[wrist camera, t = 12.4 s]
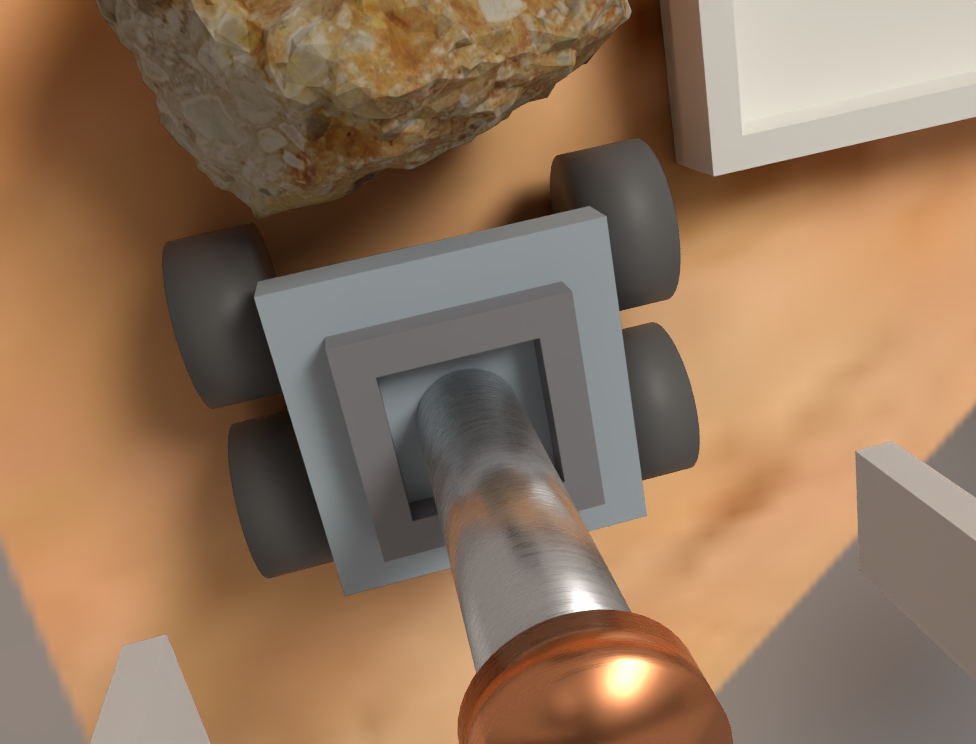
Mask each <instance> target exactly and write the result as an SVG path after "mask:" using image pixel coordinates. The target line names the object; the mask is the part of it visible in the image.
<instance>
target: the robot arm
mask: <svg viewBox="0 0 976 744" xmlns="http://www.w3.org/2000/svg"><path fill="white" fill-rule="evenodd" d="M855 452H856V482H857V512H858V541H859V570H860V571H861V572H862V573H863V574H864V575H865V576H866V577H867V578H868V579H869V580H870V581H871V582H872V583H873V584H874V585H875V586H876V587H877V588H878V589H879V590H881V591H882V592H883V593H884V594H885V595H886V596H887V597H888V598H889V599H890V600H891V601H892V602H893V603H894V604H895V605H896V606H897V607H898V608H899V609H900V610H901V611H902V612H903V613H904V614H906V616H908V617H909V618H910V619H911V620H912V621H913V622H914V623H915V624H916V625H917V626H918V627H919V628H920V629H921V630H922V631H923V632H924V633H925V634H926V635H927V636H928V637H929V638H931V640H932V641H934V642H935V643H936V644H937V645H938V646H939V647H940V648H941V649H942V650H943V651H944V652H945V653H946V654H947V655H948V656H949V657H950V658H951V659H952V660H953V661H954V662H955V663H957V665H958V666H960V667H961V668H962V669H963V670H964V671H965V672H966V673H967V674H968V675H969V676H970V677H971V678H972V679H973V680H974V681H976V498H975V497H974V496H972V495H971V494H969V493H968V492H966V491H965V490H963V489H961V488H960V487H959V486H957V485H956V484H954V483H953V482H952V481H950V480H949V479H947V478H946V477H944V476H943V475H941V474H940V473H938V472H937V471H935V470H934V469H932V468H931V467H929V466H928V465H927V464H925V463H924V462H922V461H921V460H919V459H918V458H916V457H915V456H913V455H912V454H910V453H909V452H907V451H906V450H904V449H903V448H902V447H900V446H899V445H897V444H896V443H894V442H893V441H891V442H888V443H884V444H880V445H876V446H873V447H869V448H865V449H861V450H858V451H855ZM90 744H211V743H210V741H209V738H208V736H207V733H206V731H205V728H204V726H203V724H202V721H201V719H200V716H199V714H198V711H197V709H196V706H195V704H194V701H193V699H192V696H191V694H190V691H189V689H188V686H187V684H186V681H185V679H184V676H183V674H182V671H181V669H180V666H179V664H178V662H177V659H176V657H175V654H174V652H173V649H172V647H171V644H170V642H169V639H168V637H167V634H165V635H162V636H158V637H154V638H150V639H147V640H143V641H139V642H135V643H132V644H128V645H124V646H122V649H121V652H120V655H119V658H118V661H117V664H116V667H115V670H114V673H113V676H112V679H111V682H110V685H109V688H108V691H107V694H106V697H105V700H104V703H103V706H102V709H101V712H100V715H99V718H98V721H97V724H96V727H95V730H94V733H93V736H92V739H91V742H90Z"/></svg>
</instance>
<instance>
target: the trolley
mask: <svg viewBox="0 0 976 744" xmlns="http://www.w3.org/2000/svg"><path fill="white" fill-rule="evenodd" d="M550 195H551V207H552V215H548V216H544V217H539V218H535V219H530V220H526V221H522V222H517V223H513V224H509V225H504V226H500V227H495V228H491V229H487V230H482V231H478V232H473V233H469V234H465V235H460V236H456V237H452V238H447V239H443V240H438V241H434V242H430V243H425V244H421V245H416V246H412V247H408V248H403V249H399V250H395V251H390V252H386V253H381V254H377V255H373V256H368V257H364V258H359V259H355V260H351V261H346V262H342V263H338V264H333V265H329V266H324V267H320V268H316V269H311V270H307V271H302V272H298V273H294V274H289V275H285V276H281V277H276V274H275V271H274V268H273V265H272V262H271V259H270V256H269V253H268V251H267V248H266V245H265V243H264V241H263V238H262V236H261V234H260V232H259V230H258V228H257V227H256V225H255V224H254V223H249V224H245V225H240V226H236V227H231V228H227V229H222V230H218V231H213V232H209V233H204V234H200V235H195V236H191V237H186V238H182V239H177V240H172V241H168V242H167V243H166V244H165V246H164V249H163V257H162V267H163V279H164V287H165V294H166V299H167V304H168V309H169V313H170V318H171V322H172V325H173V329H174V333H175V336H176V340H177V343H178V346H179V349H180V352H181V355H182V358H183V360H184V363H185V366H186V368H187V371H188V373H189V376H190V378H191V380H192V382H193V384H194V386H195V388H196V390H197V392H198V393H199V395H200V397H201V398H202V400H203V401H204V402H205V403H206V404H207V406H209V407H210V408H212V409H215V408H219V407H223V406H228V405H232V404H236V403H240V402H244V401H248V400H252V399H257V398H261V397H265V396H269V395H273V394H277V393H281V392H283V395H284V398H285V401H286V405H287V408H288V411H285V412H281V413H277V414H273V415H269V416H265V417H261V418H256V419H252V420H248V421H244V422H240V423H236V424H233V425H232V426H231V427H230V430H229V435H228V458H229V468H230V476H231V482H232V488H233V493H234V498H235V503H236V507H237V511H238V515H239V519H240V523H241V526H242V530H243V533H244V536H245V539H246V542H247V545H248V548H249V550H250V553H251V555H252V557H253V560H254V562H255V564H256V566H257V567H258V569H259V571H260V572H261V574H262V575H263V576H264V577H266V578H272V577H276V576H279V575H283V574H287V573H291V572H295V571H298V570H302V569H306V568H310V567H314V566H318V565H321V564H325V563H329V562H333V561H334V562H335V566H336V569H337V572H338V575H339V579H340V582H341V585H342V588H343V592H344V595H345V596H348V595H351V594H355V593H359V592H363V591H366V590H370V589H374V588H378V587H381V586H385V585H389V584H393V583H396V582H400V581H404V580H408V579H411V578H415V577H419V576H423V575H427V574H430V573H434V572H438V571H442V570H445V569H449V568H451V566H450V562H449V558H448V553H447V549H446V545H445V541H444V537H443V533H442V529H441V524H440V520H439V516H438V512H437V508H436V504H435V499H434V495H433V491H432V487H431V483H430V479H429V475H428V470H427V466H426V462H425V458H424V454H423V450H422V445H421V441H420V437H419V433H418V429H417V410H418V406H419V403H420V401H421V399H422V397H423V395H424V393H425V392H426V391H427V389H428V388H429V387H430V386H431V385H432V384H433V383H434V382H435V381H436V380H438V379H439V378H441V377H442V376H444V375H446V374H448V373H450V372H453V371H456V370H460V369H466V368H476V369H483V370H487V371H490V372H493V373H495V374H497V375H499V376H500V377H501V378H503V379H504V380H505V381H506V382H507V383H508V384H509V385H510V386H511V387H512V389H513V390H514V392H515V394H516V396H517V398H518V400H519V401H520V403H521V405H522V407H523V409H524V411H525V413H526V415H527V417H528V418H529V420H530V422H531V424H532V426H533V428H534V430H535V432H536V433H537V435H538V437H539V439H540V441H541V443H542V445H543V447H544V449H545V450H546V452H547V454H548V456H549V458H550V460H551V462H552V464H553V466H554V467H555V469H556V471H557V473H558V475H559V477H560V479H561V481H562V483H563V484H564V486H565V488H566V490H567V492H568V494H569V496H570V498H571V499H572V501H573V503H574V505H575V507H576V509H577V511H578V513H579V515H580V516H581V518H582V520H583V522H584V524H585V526H586V528H587V530H588V531H592V530H596V529H599V528H603V527H607V526H611V525H614V524H618V523H622V522H626V521H629V520H633V519H637V518H641V517H644V516H647V513H646V505H645V498H644V491H643V483H642V480H646V479H650V478H654V477H657V476H661V475H665V474H669V473H673V472H677V471H680V470H684V469H688V468H691V467H693V466H694V465H695V463H696V461H697V458H698V454H699V445H700V435H699V423H698V416H697V410H696V405H695V400H694V396H693V392H692V388H691V384H690V381H689V378H688V375H687V372H686V369H685V366H684V364H683V361H682V359H681V357H680V354H679V352H678V350H677V348H676V346H675V344H674V343H673V341H672V339H671V338H670V336H669V335H668V333H667V332H666V331H665V330H664V329H663V328H662V327H661V326H660V325H659V324H657V323H655V322H651V323H647V324H642V325H638V326H634V327H630V328H626V329H622V328H621V320H620V313H619V311H621V310H626V309H630V308H634V307H638V306H642V305H646V304H650V303H655V302H659V301H663V300H667V299H669V298H671V297H672V296H673V294H674V292H675V290H676V288H677V285H678V280H679V274H680V239H679V230H678V224H677V218H676V212H675V208H674V203H673V200H672V196H671V192H670V189H669V186H668V183H667V180H666V177H665V175H664V172H663V170H662V167H661V165H660V163H659V161H658V159H657V157H656V156H655V154H654V152H653V151H652V149H651V148H650V147H649V146H648V145H647V143H645V142H644V141H643V140H641V139H639V138H633V139H629V140H624V141H620V142H615V143H611V144H606V145H602V146H597V147H593V148H588V149H584V150H579V151H575V152H570V153H566V154H561V155H557V156H556V157H555V158H554V160H553V162H552V166H551V174H550Z"/></svg>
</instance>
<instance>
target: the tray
mask: <svg viewBox="0 0 976 744" xmlns="http://www.w3.org/2000/svg"><path fill="white" fill-rule="evenodd" d="M659 1H660V10H661V20H662V30H663V40H664V50H665V60H666V70H667V79H668V89H669V99H670V109H671V119H672V129H673V139H674V148H675V158H676V164H679V165H682V166H685V167H687V168H690V169H693V170H696V171H699V172H702V173H705V174H708V175H711V176H718V175H723V174H727V173H731V172H736V171H740V170H745V169H749V168H753V167H758V166H762V165H766V164H771V163H775V162H780V161H784V160H788V159H793V158H797V157H802V156H806V155H810V154H815V153H819V152H824V151H828V150H832V149H837V148H841V147H845V146H850V145H854V144H859V143H863V142H867V141H872V140H876V139H881V138H885V137H889V136H894V135H898V134H902V133H907V132H911V131H916V130H920V129H924V128H929V127H933V126H938V125H942V124H946V123H951V122H955V121H959V120H964V119H968V118H973V117H976V0H659Z"/></svg>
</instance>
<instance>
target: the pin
mask: <svg viewBox="0 0 976 744" xmlns="http://www.w3.org/2000/svg"><path fill="white" fill-rule="evenodd" d="M417 429H418V433H419V437H420V441H421V445H422V450H423V454H424V458H425V462H426V466H427V470H428V475H429V479H430V483H431V487H432V491H433V495H434V499H435V504H436V508H437V512H438V516H439V520H440V524H441V529H442V533H443V537H444V541H445V545H446V549H447V553H448V558H449V562H450V566H451V570H452V574H453V578H454V583H455V587H456V591H457V595H458V599H459V603H460V608H461V612H462V616H463V620H464V624H465V628H466V632H467V637H468V641H469V645H470V649H471V653H472V657H473V662H474V666H475V670H476V675H475V676H474V678H473V679H472V681H471V683H470V685H469V687H468V689H467V691H466V693H465V695H464V698H463V701H462V704H461V706H460V712H459V717H458V740H459V744H733V739H732V732H731V727H730V724H729V721H728V718H727V715H726V714H725V712H724V710H723V708H722V707H721V705H720V703H719V701H718V700H717V698H716V696H715V694H714V693H713V691H712V689H711V688H710V686H709V684H708V683H707V681H706V679H705V678H704V676H703V674H702V672H701V671H700V669H699V667H698V666H697V664H696V662H695V661H694V659H693V657H692V655H691V654H690V652H689V650H688V649H687V647H686V646H685V645H684V643H683V642H682V641H681V640H680V639H679V637H677V636H676V635H675V634H674V633H673V632H672V631H671V630H669V629H668V628H666V627H665V626H663V625H662V624H660V623H658V622H657V621H654V620H652V619H650V618H648V617H645V616H642V615H639V614H635V613H632V612H631V611H630V609H629V607H628V605H627V603H626V601H625V599H624V598H623V596H622V594H621V592H620V590H619V588H618V586H617V584H616V582H615V581H614V579H613V577H612V575H611V573H610V571H609V569H608V567H607V565H606V564H605V562H604V560H603V558H602V556H601V554H600V552H599V550H598V549H597V547H596V545H595V543H594V541H593V539H592V537H591V535H590V533H589V532H588V530H587V528H586V526H585V524H584V522H583V520H582V518H581V516H580V515H579V513H578V511H577V509H576V507H575V505H574V503H573V501H572V499H571V498H570V496H569V494H568V492H567V490H566V488H565V486H564V484H563V483H562V481H561V479H560V477H559V475H558V473H557V471H556V469H555V467H554V466H553V464H552V462H551V460H550V458H549V456H548V454H547V452H546V450H545V449H544V447H543V445H542V443H541V441H540V439H539V437H538V435H537V433H536V432H535V430H534V428H533V426H532V424H531V422H530V420H529V418H528V417H527V415H526V413H525V411H524V409H523V407H522V405H521V403H520V401H519V400H518V398H517V396H516V394H515V392H514V390H513V389H512V387H511V386H510V385H509V384H508V383H507V382H506V381H505V380H504V379H503V378H501V377H500V376H499V375H497V374H495V373H493V372H490V371H487V370H483V369H476V368H466V369H460V370H456V371H453V372H450V373H448V374H446V375H444V376H442V377H441V378H439V379H438V380H436V381H435V382H434V383H433V384H432V385H431V386H430V387H429V388H428V389H427V391H426V392H425V393H424V395H423V397H422V399H421V401H420V403H419V406H418V410H417Z"/></svg>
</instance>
